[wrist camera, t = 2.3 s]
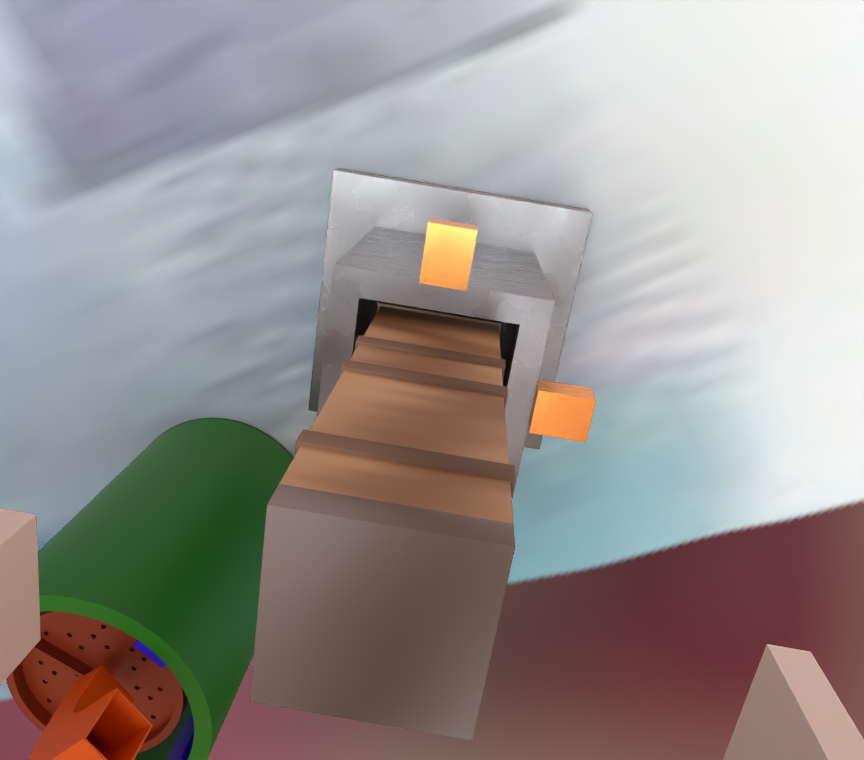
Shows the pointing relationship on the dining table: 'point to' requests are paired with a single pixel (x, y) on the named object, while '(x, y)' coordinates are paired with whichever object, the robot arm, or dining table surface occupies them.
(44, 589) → the motor
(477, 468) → the column
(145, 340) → the dining table surface
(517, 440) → the stand base
